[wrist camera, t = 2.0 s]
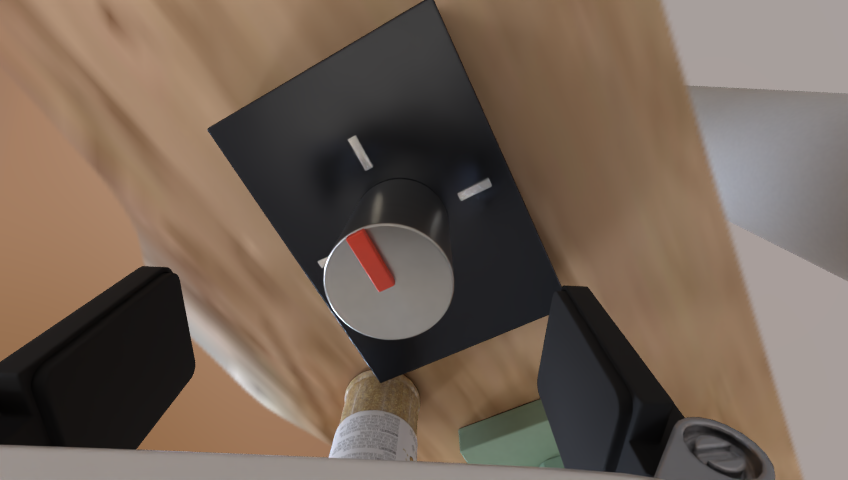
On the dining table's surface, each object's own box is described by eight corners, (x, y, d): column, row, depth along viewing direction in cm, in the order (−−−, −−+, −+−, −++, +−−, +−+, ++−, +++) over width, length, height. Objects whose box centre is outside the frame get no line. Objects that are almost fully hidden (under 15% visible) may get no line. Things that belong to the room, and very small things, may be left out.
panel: (553, 276, 22) (571, 308, 19) (386, 347, 24) (380, 386, 21) (432, 7, 17) (431, -6, 15) (238, 121, 19) (203, 129, 16)
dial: (464, 243, 18) (477, 316, 13) (383, 280, 19) (363, 364, 13) (421, 161, 17) (415, 203, 11) (336, 204, 18) (293, 263, 12)
